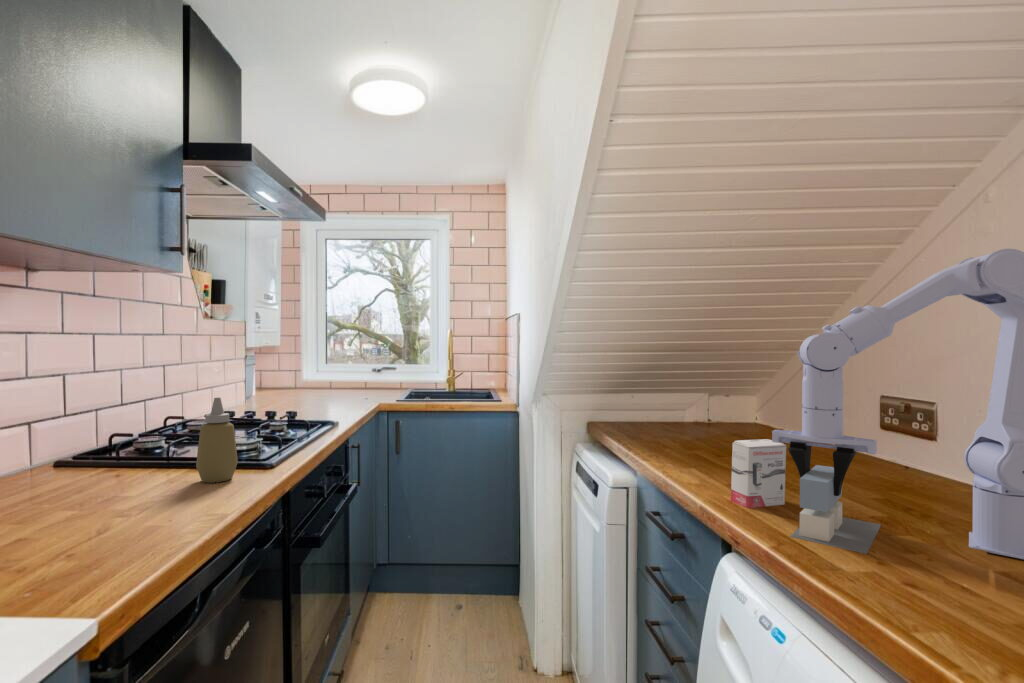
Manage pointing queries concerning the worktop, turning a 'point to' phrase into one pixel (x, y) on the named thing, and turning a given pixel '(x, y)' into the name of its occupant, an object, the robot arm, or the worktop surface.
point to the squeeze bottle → (216, 446)
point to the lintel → (818, 489)
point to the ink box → (758, 473)
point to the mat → (849, 535)
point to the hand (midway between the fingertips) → (821, 492)
